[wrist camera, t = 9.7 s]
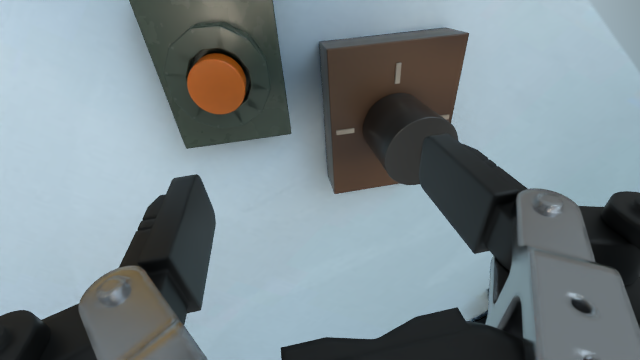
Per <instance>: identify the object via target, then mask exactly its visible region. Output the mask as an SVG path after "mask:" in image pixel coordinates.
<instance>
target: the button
mask: <svg viewBox="0 0 640 360" xmlns="http://www.w3.org/2000/svg"><path fill="white" fill-rule="evenodd" d="M187 88H188V92H189V94H190V96H191V98H192V99H193V101H194V102H195V103H196V104H197V105H198V106H199V107H200V108H202V109H203V110H205V111H207V112H209V113H213V114H228V113H231V112H233V111H234V110H236V109H237V108H238V107H239V106H240V105H241V104H242V102H243V100H244V97H245V91H246V77H245V74H244V71H243V69H242V68H241V66H240V65H239V64H238V63H237V62H236V61H235V60H234V59H232V58H231V57H229V56H227V55H224V54H220V53H212V54H207V55H205V56H203V57H201V58H200V59H199V60H198V61H197V62H196V64H195V65H194V66H193V67H192V69H191V70H190V72H189V74H188V78H187Z"/></svg>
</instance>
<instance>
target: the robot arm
mask: <svg viewBox="0 0 640 360" xmlns="http://www.w3.org/2000/svg"><path fill="white" fill-rule="evenodd" d="M419 181H420V184H421V186H422V188H423V190H424V191H425V192H426V193H427V195H428V196H429V197H430V198H431V200H432V201H433V202H434V203H435V205H436V206H437V207H438V209H439V210H440V211H441V212H442V214H443V215H444V216H445V217H446V219H447V220H448V221H449V222H450V224H451V225H452V226H453V228H454V229H455V230H456V231H457V233H458V234H459V235H460V236H461V238H462V239H463V240H464V241H465V243H466V244H467V245H468V246H469V248H470V249H471V250H472V252H473V253H474V254H476V253H481V252H485V251H490V252H491V253H492V254H493V257H492V259H491V264H490V283H489V303H488V315H487V320H486V323H485V324H482V323H476V322H470V321H465V319H464V318H463V316H462V314H461V313H460V311H459V309H458V308H453V309H448V310H444V311H440V312H435V313H431V314H427V315H422V316H418V317H415V318H413V319H411V320H410V321H408V322H406V323H404V324H403V325H401V326H399V327H397V328H395V329H394V330H392V331H390V332H388V333H387V334H385V335H383V336H381V337H379V338H377V339H351V338H329V337H326V338H321V339H317V340H312V341H308V342H304V343H299V344H295V345H291V346H286V347H282V348H281V358H282V360H640V193H638V192H618V193H615V194H613V195H612V196H611V198H610V199H609V201H608V202H607V204H606V205H605V207H589V206H578V205H577V204H576V203H575V202H573V201H572V200H571V199H569V198H567V197H566V196H564V195H562V194H559V193H557V192H553V191H550V190H545V189H536V188H535V189H527V188H526V187H525V186H523V185H522V184H521V183H519V182H518V181H517V180H516V179H514V178H513V177H512V176H510V175H509V174H508V173H507V172H505V171H504V170H503V169H501V168H500V167H499V166H498V167H497V166H496V164H495V163H494V162H492V161H491V160H488V158H487V157H486V156H485V155H483V154H482V153H481V152H479V151H478V150H476V149H474V148H471V147H469V146H467V145H464V144H461V143H460V142H459V141H457V140H456V139H455V138H454V137H452V136H451V135H450V134H448V133H445V134H439V135H433V136H427V137H425V139H424V141H423V145H422V152H421V159H420V167H419ZM215 224H216V221H215V213H214V210H213V207H212V205H211V202H210V200H209V197H208V195H207V192H206V190H205V187H204V185H203V182H202V180H201V178H200V176H199V175H197V174H196V175H190V176H184V177H178V178H174V179H173V180H172V182H171V184H170V186H169V189H168V191H167V193H166V195H160V196H159V197H158V198H157V199H156V200H155V201H154V202H153V203H152V204H151V205H150V206H149V207H148V208H147V210H146V212H145V215H144V217H143V221H141V223H140V225H139V227H138V231H136V233H135V235H134V237H133V239H132V241H131V244H130V246H129V248H128V250H127V252H126V254H125V256H124V258H123V260H122V262H121V264H120V266H119V268H117V269H115V270H113V271H110V272H109V273H107V274H105V275H103V276H102V277H100V278H99V279H98V280H97V281H95V282H94V283H93V284H92V285H91V286H90V287H89V288H88V289H87V290H86V292H85V293H84V295H83V296H82V298H81V300H80V303H79V304H77V305H75V306H72V307H70V308H68V309H65V310H63V311H61V312H59V313H56V314H54V315H52V316H49V317H47V318H45V319H43V320H40V319H39V318H38V317H36V316H35V315H34V314H33V313H31V312H29V311H25V310H19V311H13V312H10V313H7V314H4V315H2V316H0V360H208V359H207V358H206V356H205V355H204V353H203V352H202V350H201V349H200V348H199V346H198V345H197V343H196V342H195V341H194V339H193V338H192V336H191V335H190V334H189V332H188V331H187V329H186V328H185V326H184V323H185V319H186V314H187V313H190V312H195V311H199V310H201V307H202V301H203V295H204V289H205V284H206V278H207V272H208V266H209V260H210V255H211V249H212V243H213V237H214V231H215Z"/></svg>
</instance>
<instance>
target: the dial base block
mask: <svg viewBox="0 0 640 360" xmlns="http://www.w3.org/2000/svg"><path fill="white" fill-rule="evenodd" d="M468 36H469V33H467V32H462V31H458V30H453V29H449V28H439V29H430V30H421V31H412V32H403V33H394V34H385V35H376V36H367V37H358V38H348V39H339V40H330V41H321V42H319V49H320V64H321V78H322V93H323V108H324V123H325V138H326V153H327V167H328V177H329V180H330V183H331V185H332V188H333V191H334V194H338V193H344V192H350V191H356V190H362V189H368V188H374V187H381V186H387V185H393V184H399V183H398V182H396V181H394V180H393V179H392V178H391V177H390V176H389V175H388V173H387V172H386V170H385V169H384V167H383V166H382V164H381V163H380V161H379V160H378V159H377V157H376V156H375V154H374V153H373V151H372V150H371V148H370V147H369V145H368V144H367V142H366V140H365V138H364V134H363V125H364V121H365V118H366V115H367V114H368V112H369V110H370V109H371V108H372V106H373V105H374V104H375V103H376V102H378V101H379V100H380V99H382V98H384V97H386V96H388V95H391V94H395V93H406V94H410V95H412V96H414V97H415V98H417V99H418V100H419V101H421V102H422V103H424V104H425V105H426V106H428V107H429V108H431V109H432V110H433V111H435V112H436V113H437V114H439V115H440V116H442V117H443V118H444V119H446V120H447V121H449V122H450V123H451V119H452V114H453V110H454V105H455V100H456V95H457V90H458V85H459V80H460V75H461V70H462V65H463V60H464V55H465V51H466V46H467V41H468Z"/></svg>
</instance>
